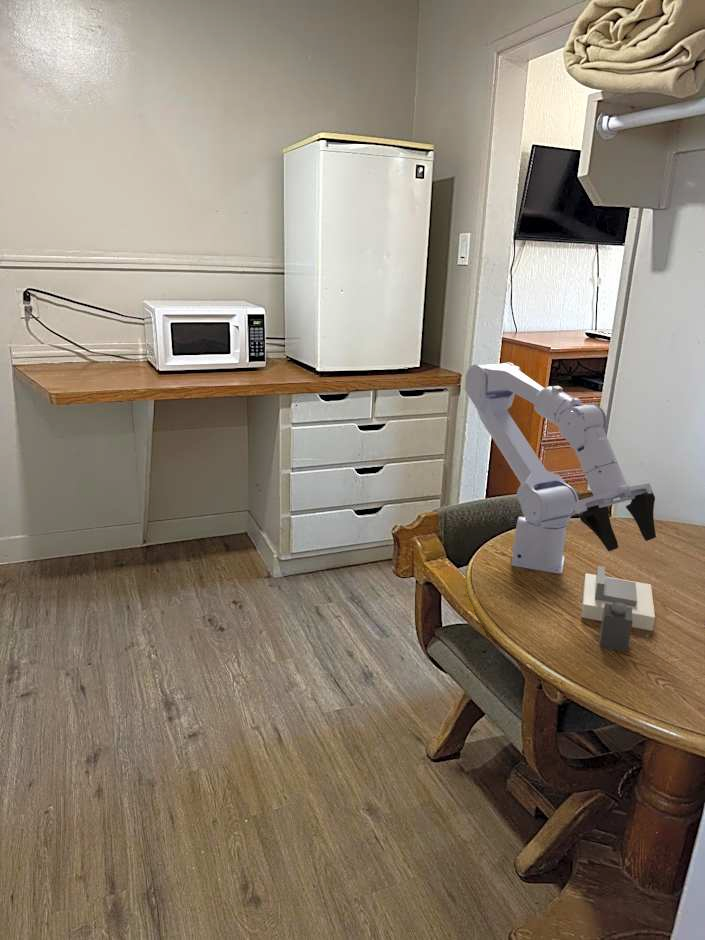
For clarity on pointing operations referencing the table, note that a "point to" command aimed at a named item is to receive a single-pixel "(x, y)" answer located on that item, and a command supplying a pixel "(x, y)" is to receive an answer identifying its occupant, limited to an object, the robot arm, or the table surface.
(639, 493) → the robot arm
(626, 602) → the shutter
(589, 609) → the socket plate
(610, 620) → the plug
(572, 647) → the table surface
